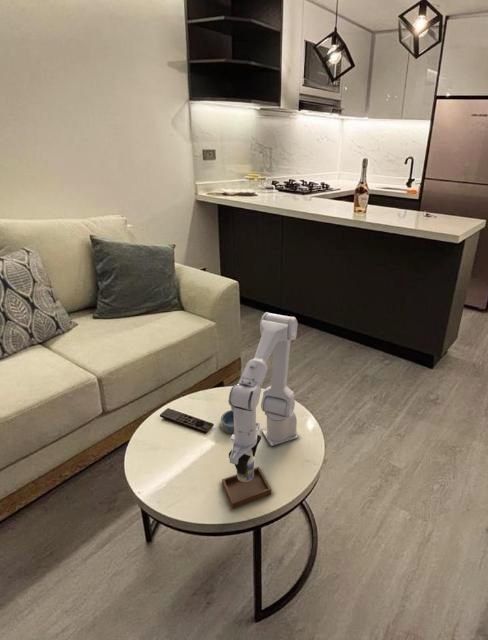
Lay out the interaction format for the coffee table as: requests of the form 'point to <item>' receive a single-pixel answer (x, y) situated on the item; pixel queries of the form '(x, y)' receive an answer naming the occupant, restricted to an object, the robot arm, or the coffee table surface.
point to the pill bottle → (248, 469)
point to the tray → (246, 489)
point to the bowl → (228, 421)
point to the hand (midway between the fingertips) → (245, 465)
